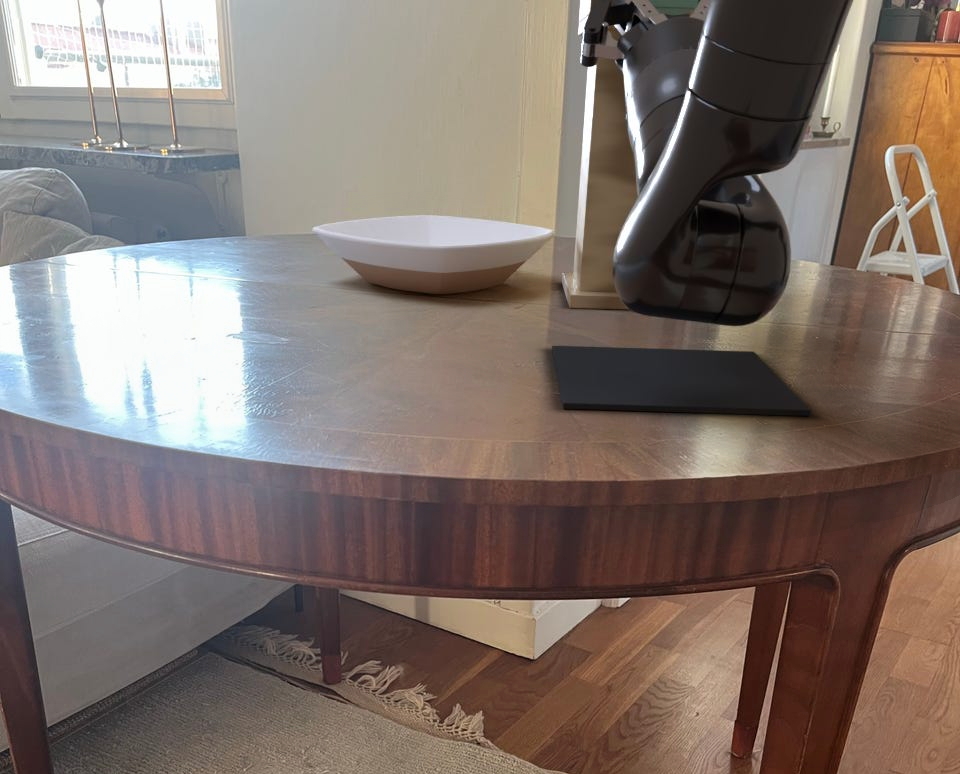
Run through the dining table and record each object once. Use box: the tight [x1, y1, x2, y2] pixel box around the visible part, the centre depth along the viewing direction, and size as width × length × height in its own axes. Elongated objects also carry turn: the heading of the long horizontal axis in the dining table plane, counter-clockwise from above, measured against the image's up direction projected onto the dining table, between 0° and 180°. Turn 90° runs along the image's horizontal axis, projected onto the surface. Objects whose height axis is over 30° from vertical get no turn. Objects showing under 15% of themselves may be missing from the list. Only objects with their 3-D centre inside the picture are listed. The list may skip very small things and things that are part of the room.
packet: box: [649, 0, 698, 15], centre depth 80 cm, size 4×20×2 cm, turn 179°
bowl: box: [312, 214, 556, 295], centre depth 99 cm, size 22×22×5 cm
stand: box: [561, 0, 694, 311], centre depth 90 cm, size 11×13×26 cm
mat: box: [551, 345, 812, 417], centre depth 68 cm, size 16×16×1 cm
